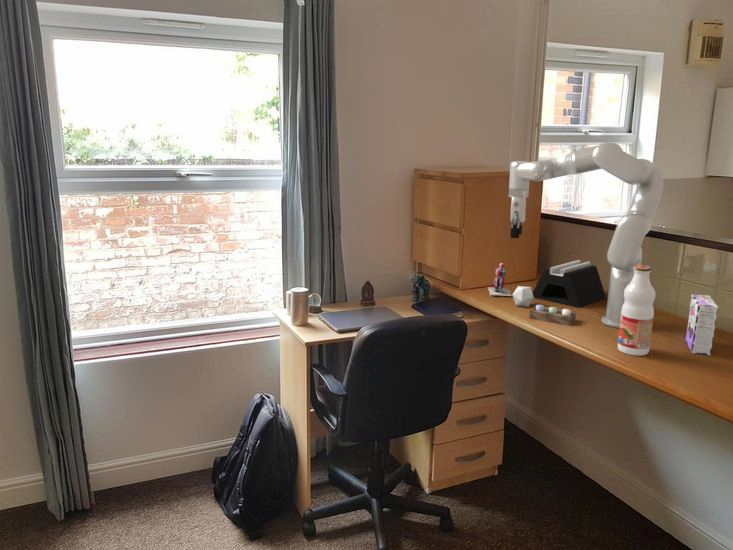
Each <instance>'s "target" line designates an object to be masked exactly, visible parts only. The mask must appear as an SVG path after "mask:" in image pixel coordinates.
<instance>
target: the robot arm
mask: <svg viewBox="0 0 733 550" xmlns="http://www.w3.org/2000/svg"><path fill="white" fill-rule="evenodd" d="M598 170H603V171H605V172H606V173H608V174H610V175H612V176H614V177H615V178H617V179H618V180H620V181H622V182H623V183H625V184H628V185H633V186H634V185H635V186H636V187H635V192H634V194H633V197H632V199H631V203H630V206H629V208H628V210H627V212H626V214H624V215H623V216H622V217H621V218H620V219H619V221H618V223H617V225H616V227H615V229H614V233H613V236H612V239H611V242H610V243H609V247H608V250H607V255H606V256H607V257H606V259H607V262H608V264H609V265H610V266H611V267H610V275H609V284H608V292H607V303H606V313H605V316H602V317H601V318H600V319H601V320H600V322H601V324H603V325H606V326H609V327H612V328H617V329H619V328H620V319H621V310H622V305H623V304H624V301H625V300H624V290H625V288H626V287H627V286H628V285H629V284H630V282H631V281H632V279H633V276H634V266H635V265H642V259H643V249H642V245H643V242H644V239H645V236H646V235H647V234H648V233H649V232H650V230H651V228H652V224H653V222H654V221H653V220H654V218H655V216H656V212H657V210H658V206H659V203H660V200H661V198H662V194H663V190H664V178H663V175H662V172H661V170H660V169H659V168H658V166H656V164H654V163H653V162H652V161H650V160H649V159H647V158H637V157H635V156H633V155H631V154H629V153H627V152H626V151H624V150H623V148H622V147H621V146H620V144H618V143H616V142H602V143H601V144H599V145H594V146H591V147H586V148H582V149H578V150H577V149H576V150H573V151H571V152H570V153H567V154H565V155H562V156H559V157H554V158H549V159H545V160H535V161H526V160H524V161H523V160H516V161H515V160H514V161H511V162H510V165H509V182H508V183H509V184H508V197H509V198H511V202H510V222H511V225H510V226H511V227H510V239H519V238H520V236H522V231H523V223H525V221H526V209H527V208H526V207H527V206H526V205H527V202H526V201H527V199H526V198H529V193H530V192H529V190H530V181H533V182H541V181H547V180H552V179H556V178H560V177H565V176H569V175H579V174H584V173H588V172H594V171H598Z"/></svg>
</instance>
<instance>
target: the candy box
mask: <svg viewBox="0 0 733 550" xmlns="http://www.w3.org/2000/svg"><path fill="white" fill-rule="evenodd" d="M688 311H689V312H688V319H687V329H686V334H685V335H686V336H685V343H686V344H687V346H688V349H689V351H690V353H691V354H695V355H696V354H697V355H703V356H704V355H705V356H711V355H712V348H713V342H714V337H715V331H716V330H715V329H716V325H717V317H718V313H719V312H718V311H719V306H718V305H717V304H716V302H715V301H714V299H713V298H712V296H711V295H708V294H707V295H706V294H695V293H694V294H693V293H692V294H691V297H690V305H689V310H688Z"/></svg>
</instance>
